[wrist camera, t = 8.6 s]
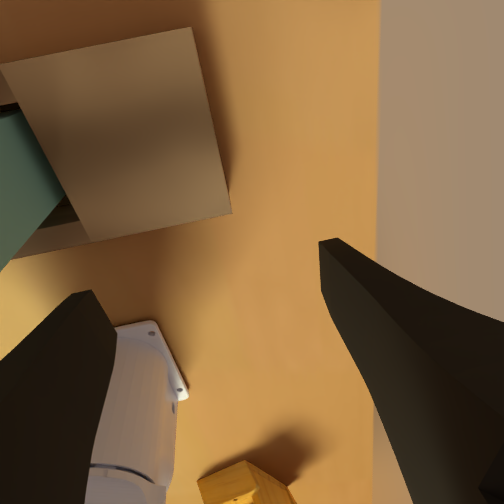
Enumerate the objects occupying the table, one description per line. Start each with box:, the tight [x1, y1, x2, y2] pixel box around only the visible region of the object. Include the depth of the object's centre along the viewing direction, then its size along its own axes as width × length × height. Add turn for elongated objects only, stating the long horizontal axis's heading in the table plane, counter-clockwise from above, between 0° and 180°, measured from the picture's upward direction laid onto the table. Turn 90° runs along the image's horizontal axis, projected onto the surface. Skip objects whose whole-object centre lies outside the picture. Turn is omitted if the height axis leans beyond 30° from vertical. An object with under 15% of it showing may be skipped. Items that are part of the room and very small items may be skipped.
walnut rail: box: [0, 27, 232, 260], centre depth 15 cm, size 8×20×2 cm, turn 99°
